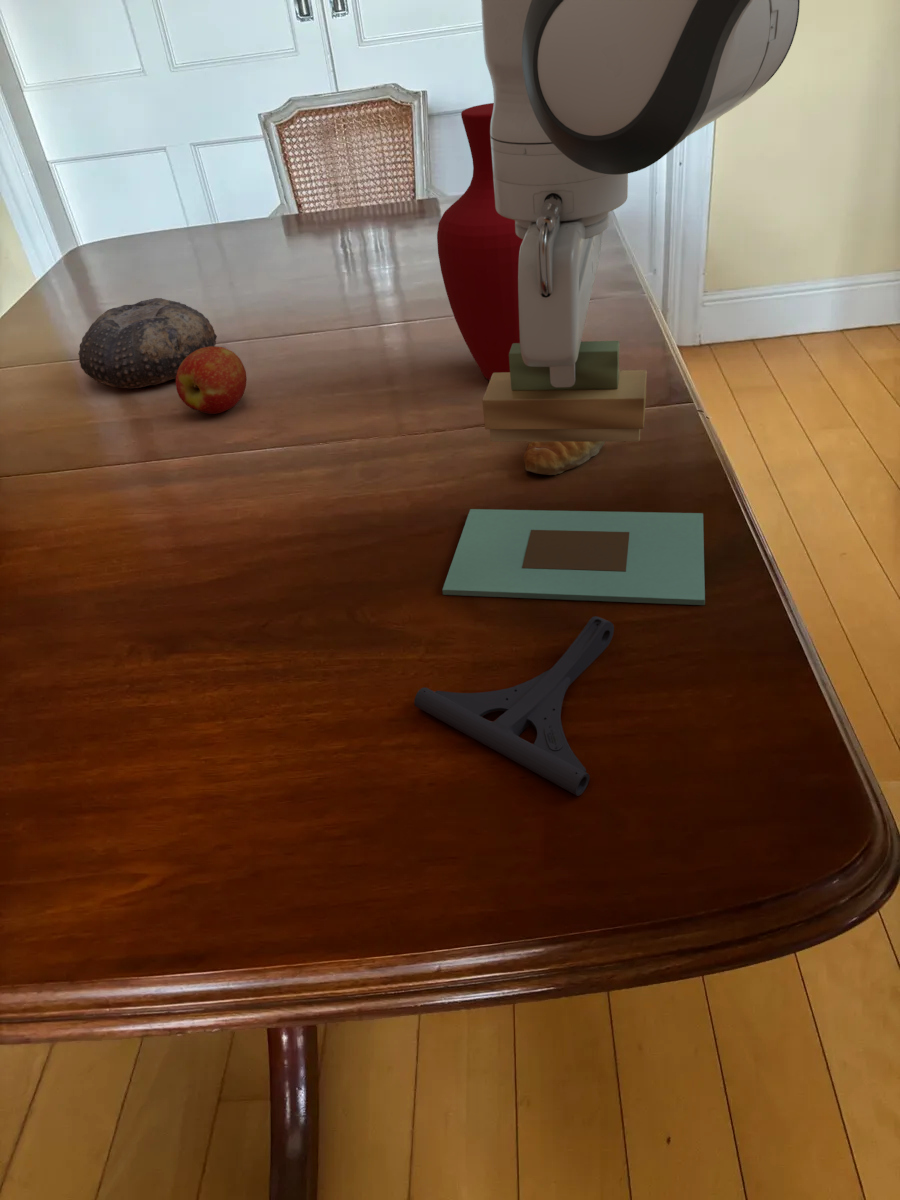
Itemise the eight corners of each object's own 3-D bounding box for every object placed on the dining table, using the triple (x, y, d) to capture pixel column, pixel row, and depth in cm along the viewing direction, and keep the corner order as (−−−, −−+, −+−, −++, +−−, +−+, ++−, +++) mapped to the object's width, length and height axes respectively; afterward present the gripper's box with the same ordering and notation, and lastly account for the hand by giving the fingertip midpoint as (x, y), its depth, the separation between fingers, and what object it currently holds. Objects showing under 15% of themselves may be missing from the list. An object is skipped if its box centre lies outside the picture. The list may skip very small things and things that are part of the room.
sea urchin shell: (144, 404, 117) (109, 329, 111) (73, 401, 128) (39, 334, 123) (249, 347, 127) (221, 277, 122) (174, 350, 139) (146, 286, 134)
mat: (702, 518, 83) (703, 512, 83) (704, 605, 73) (705, 599, 73) (470, 514, 88) (470, 508, 88) (442, 594, 78) (442, 588, 78)
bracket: (688, 673, 67) (690, 644, 65) (576, 800, 59) (574, 772, 57) (534, 608, 75) (532, 582, 74) (415, 713, 67) (410, 685, 65)
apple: (176, 420, 113) (156, 360, 108) (216, 391, 119) (199, 333, 114) (227, 426, 110) (209, 365, 105) (265, 397, 116) (250, 337, 111)
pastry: (561, 487, 90) (560, 453, 88) (507, 471, 94) (504, 439, 91) (610, 446, 95) (609, 413, 93) (556, 433, 99) (555, 401, 97)
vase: (432, 392, 111) (396, 124, 93) (483, 346, 121) (460, 95, 103) (542, 406, 105) (527, 121, 87) (586, 355, 115) (581, 90, 96)
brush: (645, 413, 71) (647, 331, 67) (643, 443, 67) (645, 358, 63) (496, 414, 74) (489, 335, 70) (486, 443, 70) (478, 362, 66)
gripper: (596, 220, 51) (598, 439, 59) (617, 138, 66) (616, 321, 75) (487, 226, 52) (503, 439, 60) (532, 145, 67) (540, 323, 76)
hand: (566, 373), depth 68 cm, fingers closed on brush
